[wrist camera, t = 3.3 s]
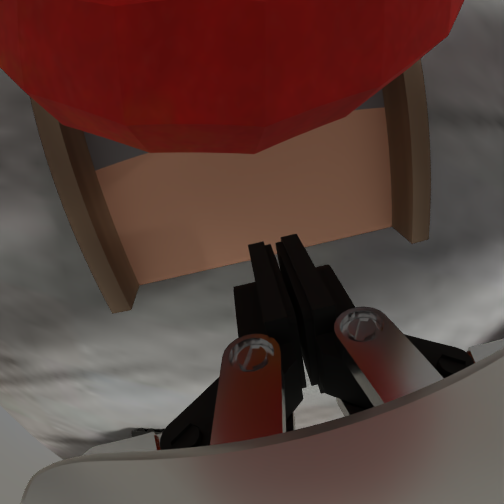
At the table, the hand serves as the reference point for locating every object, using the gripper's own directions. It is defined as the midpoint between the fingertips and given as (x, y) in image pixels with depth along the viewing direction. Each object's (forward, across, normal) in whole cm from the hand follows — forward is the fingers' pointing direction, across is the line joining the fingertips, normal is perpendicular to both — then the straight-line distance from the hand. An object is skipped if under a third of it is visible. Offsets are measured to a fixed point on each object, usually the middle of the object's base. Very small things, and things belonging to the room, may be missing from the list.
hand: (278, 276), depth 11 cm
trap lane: (+4, 0, -14) cm, 14 cm away
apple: (+4, 0, -10) cm, 11 cm away
